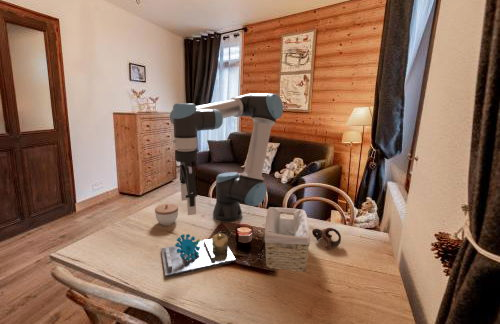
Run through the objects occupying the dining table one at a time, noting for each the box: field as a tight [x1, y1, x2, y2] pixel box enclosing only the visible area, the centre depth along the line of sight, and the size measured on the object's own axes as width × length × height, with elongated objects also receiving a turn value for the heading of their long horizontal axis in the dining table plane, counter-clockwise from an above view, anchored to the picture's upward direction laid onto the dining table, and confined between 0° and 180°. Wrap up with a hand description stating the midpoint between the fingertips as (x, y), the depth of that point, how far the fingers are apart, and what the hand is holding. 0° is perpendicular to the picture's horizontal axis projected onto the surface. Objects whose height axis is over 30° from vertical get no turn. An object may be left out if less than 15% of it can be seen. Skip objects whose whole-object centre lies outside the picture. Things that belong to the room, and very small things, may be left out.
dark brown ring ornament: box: [311, 227, 342, 250], centre depth 106 cm, size 12×10×8 cm
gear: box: [174, 233, 201, 260], centre depth 94 cm, size 11×6×10 cm
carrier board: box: [160, 232, 236, 279], centre depth 95 cm, size 25×17×7 cm
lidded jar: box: [154, 203, 179, 226], centre depth 121 cm, size 11×11×9 cm
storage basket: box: [264, 206, 311, 272], centre depth 97 cm, size 24×16×15 cm
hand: (188, 206), depth 90 cm, fingers open, 13 cm apart
